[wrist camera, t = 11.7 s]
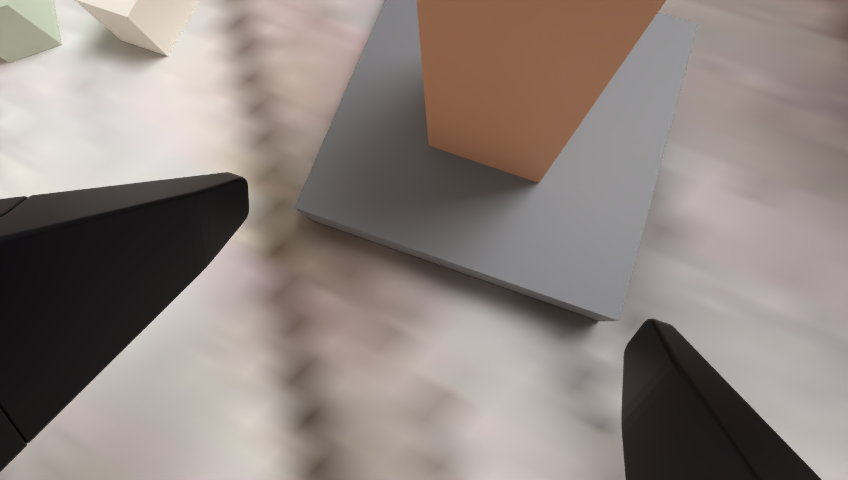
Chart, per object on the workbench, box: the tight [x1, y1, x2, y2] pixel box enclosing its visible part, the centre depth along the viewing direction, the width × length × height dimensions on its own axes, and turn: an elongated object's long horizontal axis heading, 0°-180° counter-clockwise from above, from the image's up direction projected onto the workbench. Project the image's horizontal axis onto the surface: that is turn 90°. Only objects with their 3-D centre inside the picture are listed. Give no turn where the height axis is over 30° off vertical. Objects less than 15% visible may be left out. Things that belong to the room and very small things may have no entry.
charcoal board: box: [295, 0, 698, 321], centre depth 18 cm, size 14×14×2 cm
